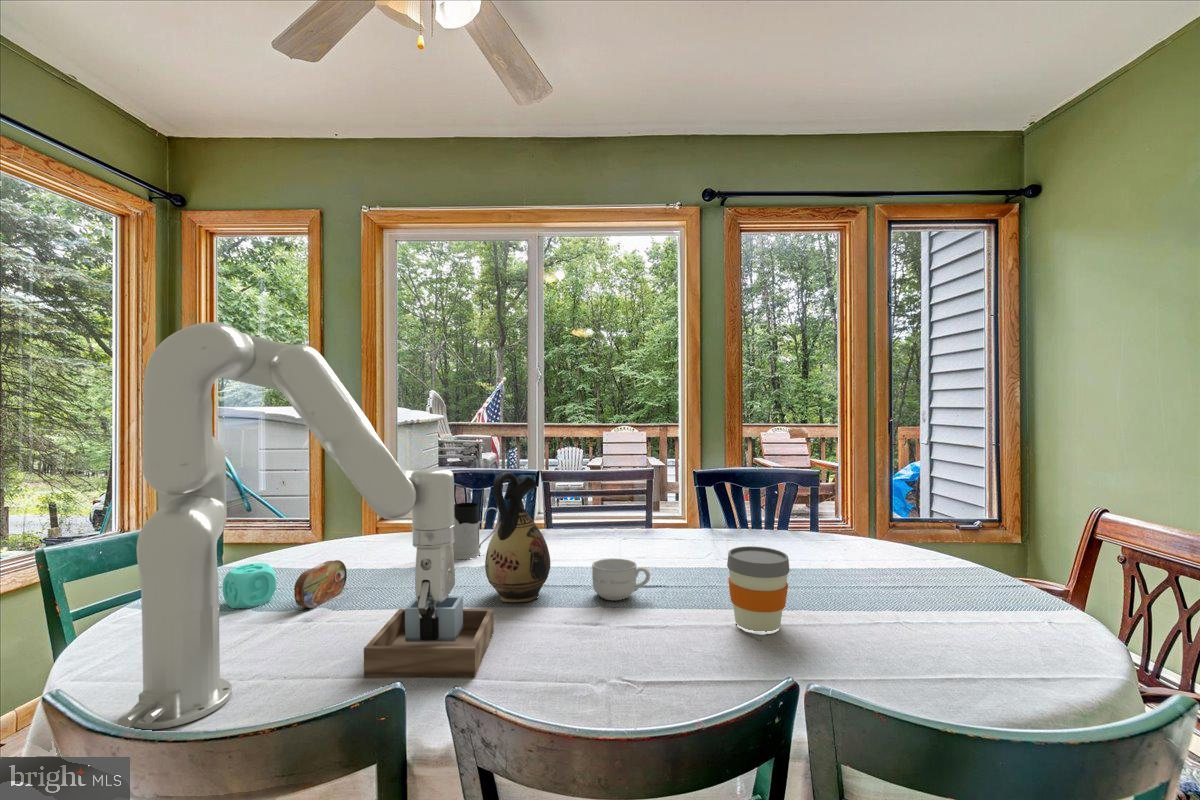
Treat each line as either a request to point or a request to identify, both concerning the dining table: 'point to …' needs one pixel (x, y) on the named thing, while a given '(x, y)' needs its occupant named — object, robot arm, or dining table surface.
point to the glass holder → (468, 530)
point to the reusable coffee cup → (758, 586)
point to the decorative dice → (249, 585)
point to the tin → (320, 584)
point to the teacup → (616, 578)
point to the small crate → (447, 620)
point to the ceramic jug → (516, 545)
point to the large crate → (429, 649)
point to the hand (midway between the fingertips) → (434, 630)
